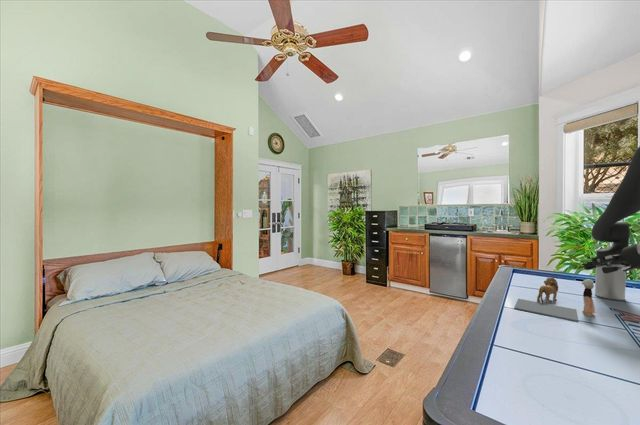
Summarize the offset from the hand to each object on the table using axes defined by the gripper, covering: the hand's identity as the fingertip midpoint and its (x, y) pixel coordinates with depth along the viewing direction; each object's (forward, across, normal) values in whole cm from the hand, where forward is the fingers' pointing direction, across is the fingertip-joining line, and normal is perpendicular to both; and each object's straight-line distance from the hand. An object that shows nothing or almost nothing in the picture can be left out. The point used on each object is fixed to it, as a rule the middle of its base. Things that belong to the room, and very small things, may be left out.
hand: (593, 269), depth 102 cm
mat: (+14, +11, +13) cm, 22 cm away
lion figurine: (+22, -1, +7) cm, 23 cm away
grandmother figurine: (+9, -2, +14) cm, 17 cm away
